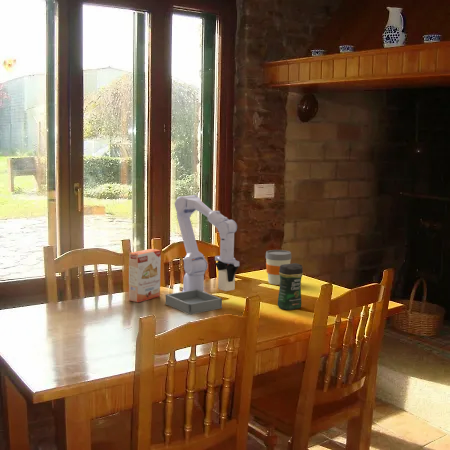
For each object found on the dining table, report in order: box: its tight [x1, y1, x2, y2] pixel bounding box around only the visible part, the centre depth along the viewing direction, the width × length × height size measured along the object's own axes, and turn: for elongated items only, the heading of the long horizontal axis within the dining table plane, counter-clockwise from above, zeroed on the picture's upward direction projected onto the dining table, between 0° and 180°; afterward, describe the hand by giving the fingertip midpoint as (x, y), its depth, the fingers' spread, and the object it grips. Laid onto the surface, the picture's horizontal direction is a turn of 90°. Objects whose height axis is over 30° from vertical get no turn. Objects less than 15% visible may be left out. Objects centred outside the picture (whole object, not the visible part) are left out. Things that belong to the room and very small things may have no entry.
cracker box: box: [128, 248, 162, 304], centre depth 258 cm, size 14×6×21 cm, turn 143°
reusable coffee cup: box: [265, 249, 293, 286], centre depth 291 cm, size 12×13×15 cm
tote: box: [165, 289, 223, 315], centre depth 249 cm, size 18×16×4 cm
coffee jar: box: [277, 263, 304, 311], centre depth 248 cm, size 10×8×19 cm
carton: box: [217, 269, 236, 292], centre depth 256 cm, size 5×5×8 cm
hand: (226, 280), depth 256 cm, fingers closed on carton, 5 cm apart
